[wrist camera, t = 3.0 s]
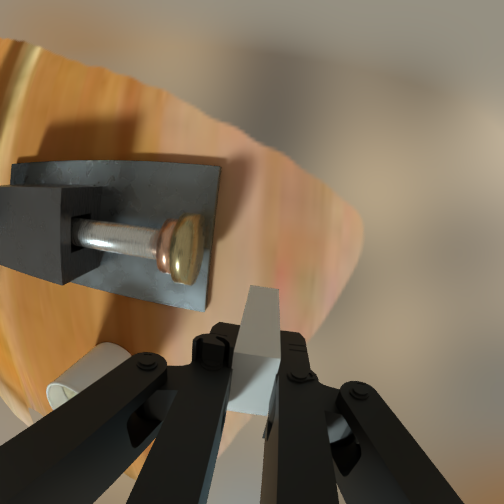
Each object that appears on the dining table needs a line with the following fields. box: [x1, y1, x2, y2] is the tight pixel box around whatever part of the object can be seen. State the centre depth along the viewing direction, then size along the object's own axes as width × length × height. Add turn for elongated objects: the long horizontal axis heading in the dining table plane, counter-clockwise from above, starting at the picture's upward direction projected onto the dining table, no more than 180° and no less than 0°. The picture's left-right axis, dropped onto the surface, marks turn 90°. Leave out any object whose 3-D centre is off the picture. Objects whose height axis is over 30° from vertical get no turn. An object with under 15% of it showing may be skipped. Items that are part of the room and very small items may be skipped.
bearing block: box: [0, 160, 221, 312], centre depth 27 cm, size 34×16×8 cm, turn 82°
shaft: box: [71, 212, 206, 286], centre depth 26 cm, size 22×7×7 cm, turn 82°
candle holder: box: [46, 342, 132, 410], centre depth 29 cm, size 10×10×12 cm
